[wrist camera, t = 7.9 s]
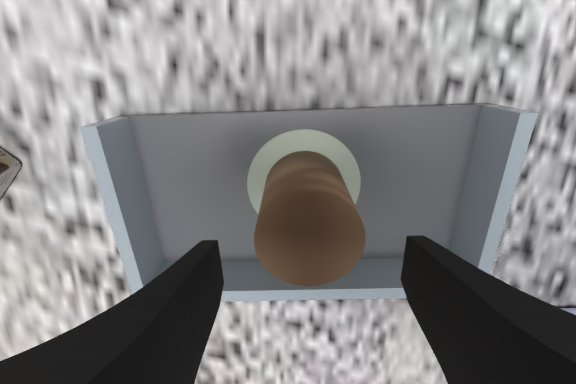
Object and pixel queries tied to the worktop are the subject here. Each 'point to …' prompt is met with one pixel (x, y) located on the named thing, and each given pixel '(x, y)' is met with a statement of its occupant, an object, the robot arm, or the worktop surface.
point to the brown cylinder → (308, 222)
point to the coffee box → (7, 170)
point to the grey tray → (353, 168)
